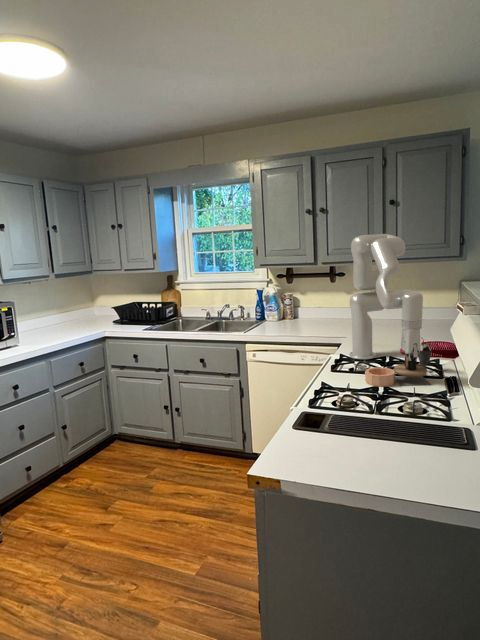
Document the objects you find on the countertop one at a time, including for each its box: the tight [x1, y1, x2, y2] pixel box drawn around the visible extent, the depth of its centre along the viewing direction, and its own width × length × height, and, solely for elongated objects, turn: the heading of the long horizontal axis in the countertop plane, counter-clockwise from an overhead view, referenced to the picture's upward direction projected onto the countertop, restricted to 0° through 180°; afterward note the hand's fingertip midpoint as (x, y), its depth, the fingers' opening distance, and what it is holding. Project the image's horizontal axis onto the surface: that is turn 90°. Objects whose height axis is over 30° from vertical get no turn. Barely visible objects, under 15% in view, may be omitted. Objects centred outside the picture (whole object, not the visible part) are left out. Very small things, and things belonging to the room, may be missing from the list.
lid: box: [393, 356, 428, 377], centre depth 179 cm, size 12×12×6 cm
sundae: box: [418, 336, 434, 373], centre depth 189 cm, size 7×7×15 cm
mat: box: [395, 375, 433, 387], centre depth 179 cm, size 12×12×1 cm
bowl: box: [364, 366, 396, 388], centre depth 180 cm, size 11×11×5 cm
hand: (410, 367), depth 179 cm, fingers closed on lid, 3 cm apart
